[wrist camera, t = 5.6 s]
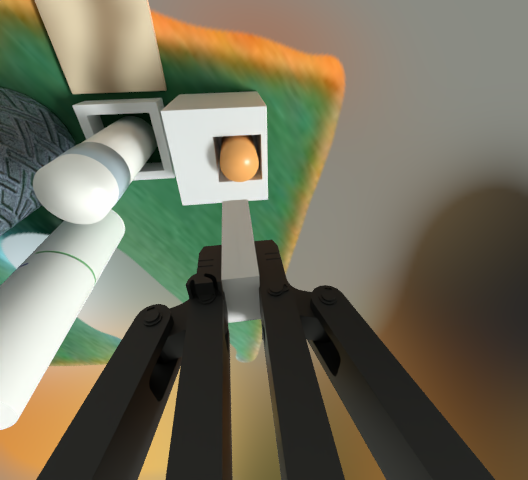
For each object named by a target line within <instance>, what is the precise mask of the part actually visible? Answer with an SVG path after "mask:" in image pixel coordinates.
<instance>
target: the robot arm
mask: <svg viewBox="0 0 528 480" xmlns="http://www.w3.org/2000/svg"><path fill="white" fill-rule="evenodd" d="M186 288H187V291H188V295H189V298H190V299H189V300H187V301H186V302H184V303H183V304H180V305H178V306H176V307H173V308H170V309H169V308H168V307H167V306H165V305H161V304H156V305H152V306H149V307H146V308H145V309H143V310H142V311H140V313H139V314H138V315H137V316H136V318H135V319H134V321H133V323H132V324H131V326H130V327H129V329H128V331H127V332H126V334H125V336H124V337H123V339H122V340H121V342H120V344H119V345H118V347H117V349H116V350H115V352H114V354H113V355H112V357H111V358H110V360H109V362H108V363H107V365H106V367H105V368H104V370H103V372H102V373H101V375H100V376H99V378H98V380H97V381H96V383H95V385H94V386H93V388H92V389H91V391H90V393H89V394H88V396H87V398H86V399H85V401H84V403H83V404H82V406H81V407H80V409H79V411H78V412H77V414H76V416H75V417H74V419H73V421H72V422H71V424H70V425H69V427H68V429H67V430H66V432H65V434H64V435H63V437H62V438H61V440H60V442H59V444H58V445H57V447H56V448H55V450H54V452H53V453H52V455H51V456H50V458H49V460H48V461H47V463H46V465H45V466H44V468H43V470H42V471H41V473H40V474H39V476H38V478H37V479H36V480H137V479H138V477H139V474H140V472H141V469H142V466H143V464H144V461H145V459H146V456H147V453H148V450H149V448H150V445H151V442H152V440H153V437H154V435H155V432H156V429H157V427H158V424H159V421H160V419H161V416H162V414H163V411H164V408H165V406H166V403H167V400H168V397H169V395H170V392H171V390H172V387H173V384H174V382H175V379H176V377H177V374H178V371H179V369H180V366H181V369H180V376H179V384H178V391H177V398H176V406H175V414H174V421H173V428H172V436H171V444H170V451H169V458H168V466H167V473H166V480H232V438H231V391H230V390H231V389H230V338H229V329H228V322H229V323H230V322H238V321H247V320H256V319H261V321H262V340H263V341H264V349H265V357H266V364H267V372H268V380H269V387H270V395H271V402H272V410H273V418H274V426H275V433H276V441H277V449H278V457H279V464H280V472H281V480H345V479H344V475H343V471H342V468H341V464H340V460H339V457H338V453H337V449H336V446H335V442H334V439H333V436H332V431H331V428H330V424H329V421H328V417H327V413H326V410H325V406H324V403H323V399H322V396H321V392H320V388H319V384H318V381H317V377H316V374H315V370H314V367H313V363H312V359H311V356H310V352H309V348H308V345H307V342H306V339H307V340H308V342H309V344H310V346H311V347H312V349H313V351H314V352H315V354H316V356H317V358H318V360H319V361H320V363H321V365H322V367H323V368H324V370H325V372H326V374H327V376H328V377H329V379H330V381H331V383H332V384H333V386H334V388H335V390H336V391H337V393H338V395H339V397H340V398H341V400H342V402H343V404H344V405H345V407H346V409H347V411H348V413H349V414H350V416H351V418H352V420H353V421H354V423H355V425H356V427H357V428H358V430H359V432H360V434H361V436H362V437H363V439H364V441H365V443H366V444H367V446H368V448H369V449H370V451H371V453H372V455H373V457H374V458H375V460H376V461H377V464H378V466H379V467H380V469H381V471H382V473H383V474H384V476H385V478H386V480H495V479H494V478H493V476H492V475H491V474H490V473H489V472H488V470H487V469H486V468H485V467H484V465H483V464H482V463H481V462H480V460H479V459H478V458H477V457H476V456H475V454H474V453H473V452H472V451H471V450H470V448H469V447H468V446H467V445H466V444H465V442H464V441H463V440H462V439H461V437H460V436H459V435H458V434H457V432H456V431H455V430H454V429H453V428H452V426H451V425H450V424H449V423H448V421H447V420H446V419H445V418H444V417H443V416H442V414H441V413H440V412H439V411H438V409H437V408H436V407H435V406H434V404H433V403H432V402H431V401H430V400H429V398H428V397H427V396H426V395H425V393H424V392H423V391H422V390H421V389H420V387H419V386H418V385H417V384H416V383H415V381H414V380H413V379H412V378H411V376H410V375H409V374H408V373H407V372H406V370H405V369H404V368H403V367H402V366H401V364H400V363H399V362H398V361H397V359H396V358H395V357H394V356H393V354H392V353H391V352H390V351H389V350H388V348H387V347H386V346H385V345H384V344H383V342H382V341H381V340H380V339H379V338H378V336H377V335H376V334H375V332H374V331H373V330H372V329H371V328H370V326H369V325H368V324H367V323H366V322H365V320H364V319H363V318H362V317H361V315H360V314H359V313H358V312H357V311H356V309H355V308H354V307H353V306H352V305H351V303H350V302H349V301H348V300H347V298H346V297H345V296H344V295H343V294H342V292H340V291H339V290H338V289H336V288H334V287H332V286H326V285H325V286H319V287H317V288H315V289H314V290H313V292H307V291H302V290H298V289H295V288H294V287H292V286H291V285H290V284H289V283H288V281H287V279H286V275H285V272H284V268H283V264H282V260H281V257H280V254H279V249H278V246H277V244H276V243H275V242H274V241H273V240H264V241H254V238H253V231H252V225H251V218H250V212H249V205H248V199H243V200H230V201H222V245H216V246H205V247H203V249H202V250H201V252H200V253H199V259H198V268H197V274H195V275H193V276H191V277H190V278H189V279H188V281H187V283H186Z"/></svg>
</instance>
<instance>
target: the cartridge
mask: <svg viewBox="0 0 528 480" xmlns="http://www.w3.org/2000/svg"><path fill="white" fill-rule="evenodd" d="M156 146H157V141H156V137H155V133H154V130H153V128H152V127H151V126H150V125H149V124H148V123H147V122H146V121H144V120H143V119H141V118H139V117H136V116H125V117H122V118H120V119H119V120H117V121H116V122H114V123H112V124H111V125H109V126H108V127H106V128H104V129H103V130H101V131H99V132H98V133H96V134H95V135H93V136H91V137H90V138H88V139H87V140H85V141H83V142H82V143H80V144H77V145H76V146H74V147H72V148H71V149H69V150H67V151H66V152H64V153H63V154H61V155H59V156H58V157H56V158H55V159H54V160H53V161H51V162H50V163H48V164H46V165H45V166H43V167H42V168H40V169H39V170H38V171H37V172H36V174H35V176H34V179H33V188H34V192H35V195H36V197H37V198H38V200H39V201H40V203H41V204H42V205H43V206H44V207H45V208H46V209H47V210H48V211H49V212H51V213H52V214H53V215H55V216H57V217H58V218H60V219H62V220H65V221H68V222H71V223H75V224H93V223H96V222H99V221H100V220H102V219H103V218H104V217H105V216H106V215H107V214H108V212H109V211H110V210H111V208H112V207H113V206H114V205H115V204H116V203H117V202H118V200H119V199H120V197H121V196H122V195H123V193H124V192H125V191H126V189H127V188H128V186H129V184H130V183H131V182H132V180H133V179H134V178H135V176H136V175H137V174H138V172H139V171H140V170H141V168H142V167H143V166H144V164H145V163H146V162H147V160H148V159H149V158H150V156H151V155H152V154H153V152H154V151H155V149H156Z"/></svg>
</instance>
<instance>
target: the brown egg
mask: <svg viewBox="0 0 528 480" xmlns="http://www.w3.org/2000/svg"><path fill="white" fill-rule="evenodd" d="M258 166H259V160H258V156H257V152H256V148H255V145H254V141H253V138H252V136H251V135H239V136H223V138H222V142H221V153H220V168H221V171H222V173H223V174H224V175H225V176H226V177H227V178H228V179H230V180H232V181H235V182H244V181H247V180H249V179H251V178H252V177H253V176H254V175H255V174H256V172H257V170H258Z"/></svg>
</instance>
